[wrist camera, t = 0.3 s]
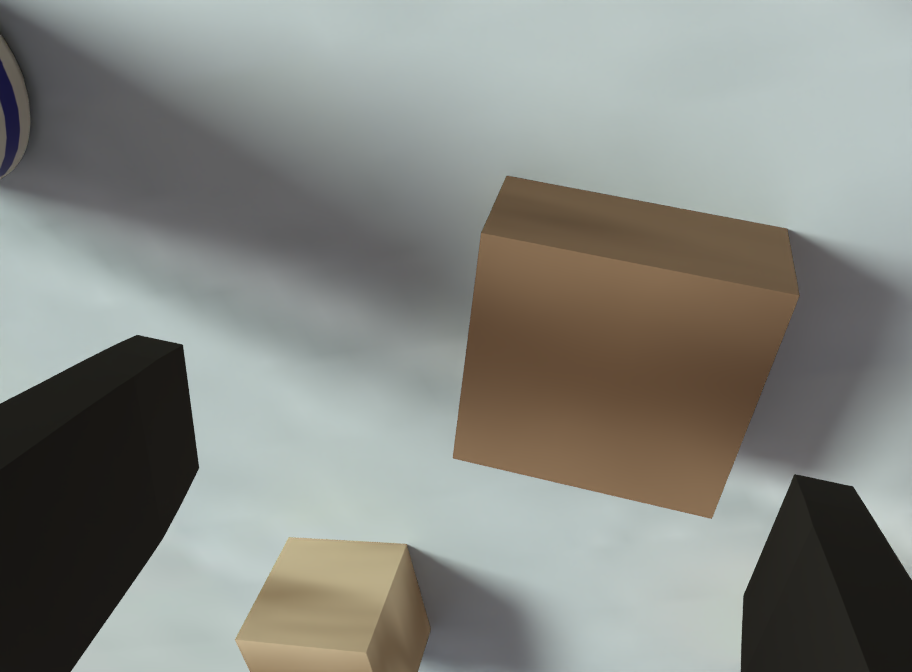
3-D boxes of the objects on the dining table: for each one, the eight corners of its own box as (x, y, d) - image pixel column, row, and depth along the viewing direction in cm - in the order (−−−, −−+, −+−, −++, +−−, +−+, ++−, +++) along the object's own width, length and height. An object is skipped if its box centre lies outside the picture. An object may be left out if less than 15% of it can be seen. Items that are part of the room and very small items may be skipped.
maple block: (431, 627, 28) (396, 739, 25) (321, 617, 29) (274, 723, 26) (407, 542, 26) (365, 652, 23) (290, 535, 27) (234, 639, 24)
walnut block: (710, 432, 22) (711, 518, 19) (478, 381, 22) (452, 458, 20) (786, 222, 18) (799, 295, 16) (508, 171, 19) (480, 232, 16)
